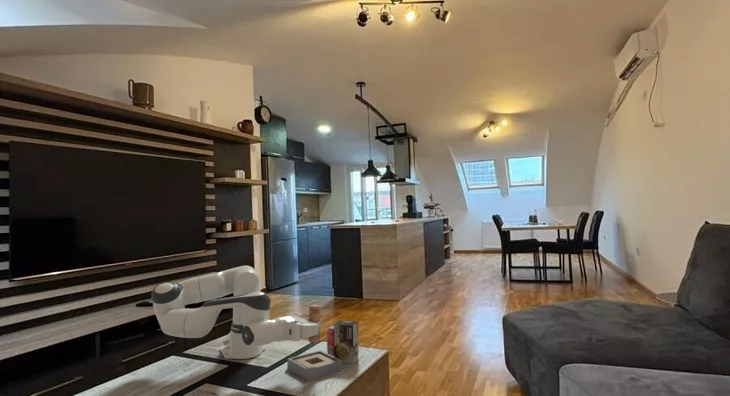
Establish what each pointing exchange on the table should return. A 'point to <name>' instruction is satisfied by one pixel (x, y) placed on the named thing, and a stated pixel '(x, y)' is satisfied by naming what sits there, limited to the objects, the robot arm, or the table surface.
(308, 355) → the peg box
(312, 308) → the peg
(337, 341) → the coffee box
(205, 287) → the robot arm
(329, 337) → the soda can
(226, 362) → the table surface
